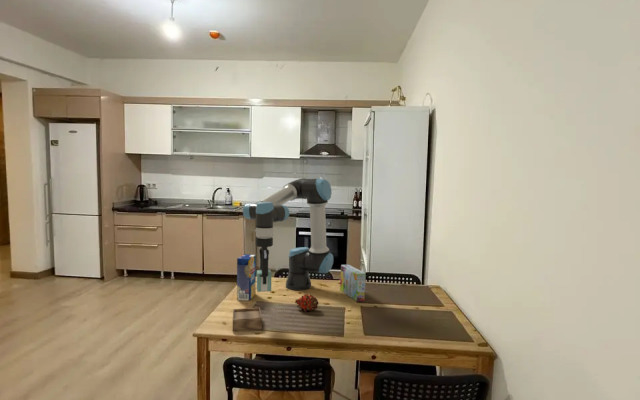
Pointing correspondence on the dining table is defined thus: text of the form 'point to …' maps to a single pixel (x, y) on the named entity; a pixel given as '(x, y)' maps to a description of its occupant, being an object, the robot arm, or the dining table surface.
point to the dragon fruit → (307, 302)
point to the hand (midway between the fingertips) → (263, 288)
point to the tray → (247, 319)
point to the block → (259, 272)
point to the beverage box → (246, 277)
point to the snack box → (353, 282)
